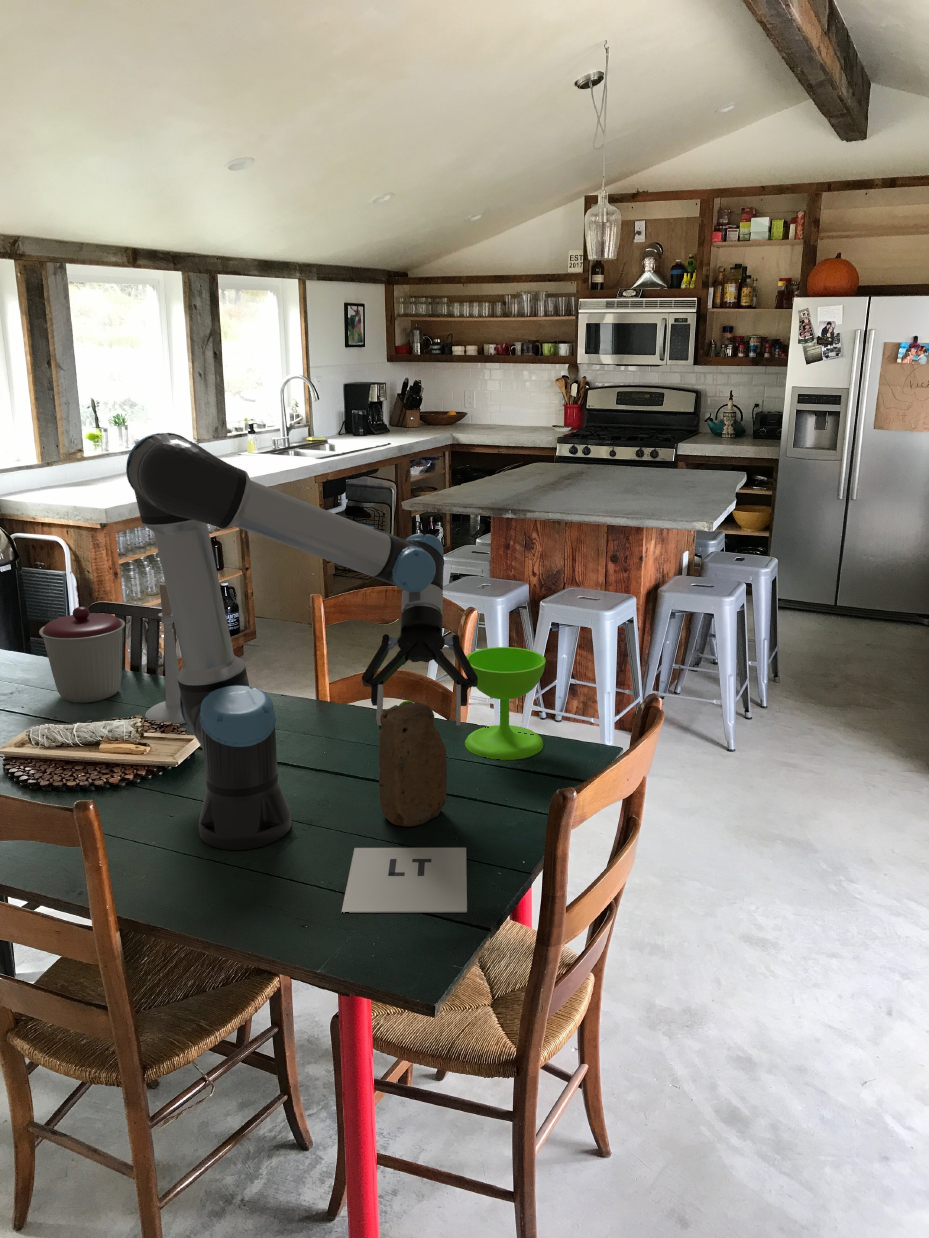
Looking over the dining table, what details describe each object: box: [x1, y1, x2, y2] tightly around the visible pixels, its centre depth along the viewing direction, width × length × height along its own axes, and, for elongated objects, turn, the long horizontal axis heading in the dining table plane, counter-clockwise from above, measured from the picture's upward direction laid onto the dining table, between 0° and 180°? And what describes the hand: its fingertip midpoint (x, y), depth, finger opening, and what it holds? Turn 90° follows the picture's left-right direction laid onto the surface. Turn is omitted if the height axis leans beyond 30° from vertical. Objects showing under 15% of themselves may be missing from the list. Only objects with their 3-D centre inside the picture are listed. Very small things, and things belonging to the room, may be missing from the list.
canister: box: [38, 606, 126, 704], centre depth 221 cm, size 18×18×21 cm
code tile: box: [341, 847, 468, 914], centre depth 148 cm, size 18×18×1 cm
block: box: [378, 702, 448, 828], centre depth 165 cm, size 11×8×20 cm
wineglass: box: [464, 646, 547, 761], centre depth 195 cm, size 16×16×18 cm
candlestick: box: [144, 581, 186, 724], centre depth 208 cm, size 13×13×30 cm
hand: (418, 722), depth 167 cm, fingers open, 13 cm apart
